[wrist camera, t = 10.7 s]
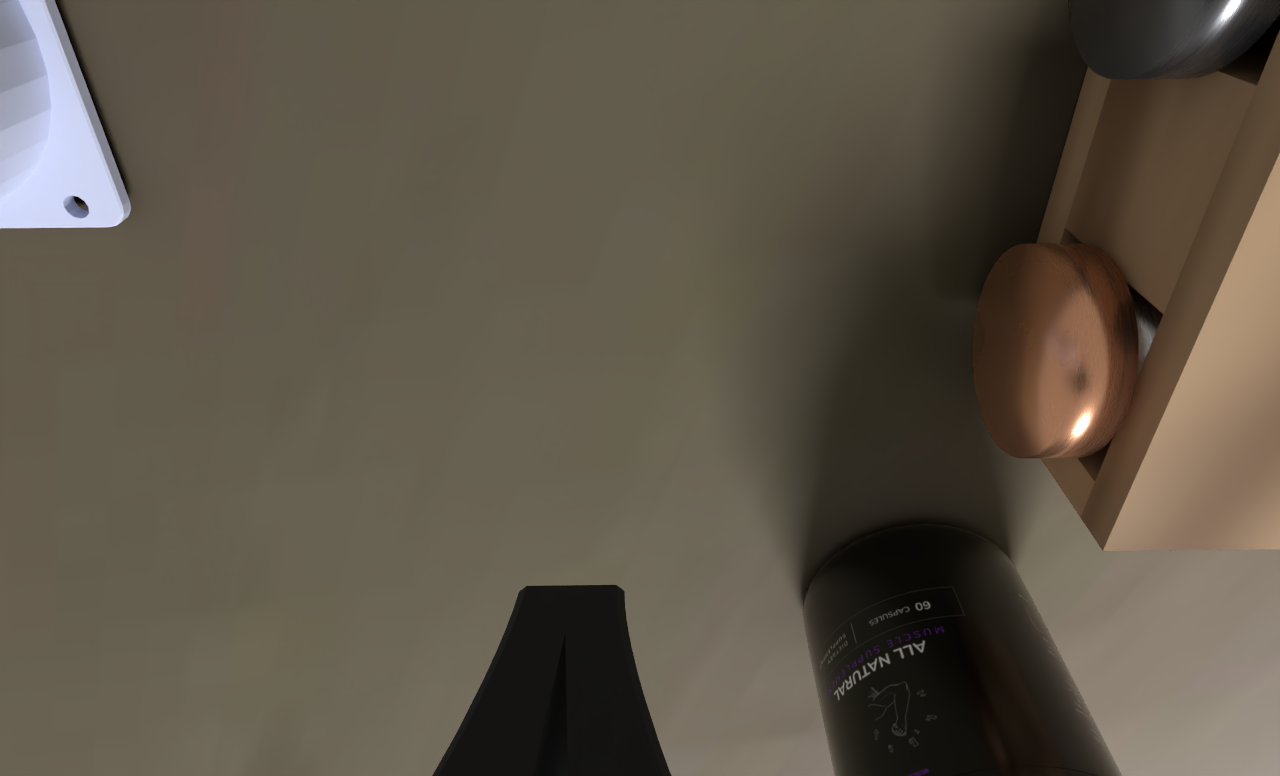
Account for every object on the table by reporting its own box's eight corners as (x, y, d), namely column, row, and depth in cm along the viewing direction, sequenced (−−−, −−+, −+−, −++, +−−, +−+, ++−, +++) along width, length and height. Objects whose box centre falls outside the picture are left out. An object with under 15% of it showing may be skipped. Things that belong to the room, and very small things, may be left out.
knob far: (957, 381, 21) (1032, 503, 17) (1002, 209, 18) (1102, 308, 14) (1222, 379, 21) (1356, 499, 17) (1303, 207, 18) (1484, 304, 14)
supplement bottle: (825, 505, 24) (965, 974, 14) (1045, 523, 24) (1331, 989, 14) (777, 653, 28) (860, 1105, 18) (968, 666, 28) (1152, 1112, 18)
